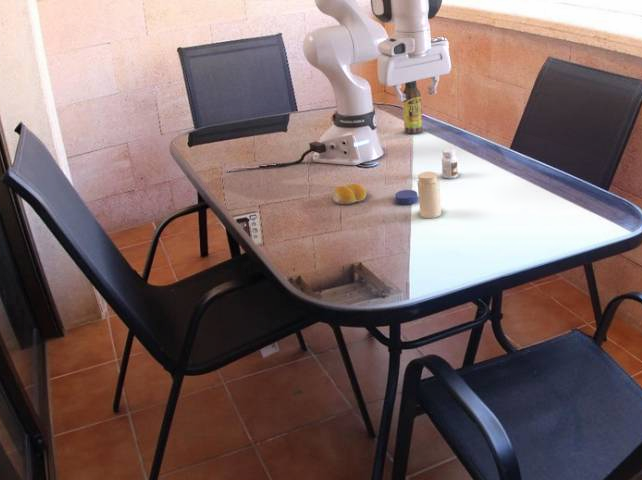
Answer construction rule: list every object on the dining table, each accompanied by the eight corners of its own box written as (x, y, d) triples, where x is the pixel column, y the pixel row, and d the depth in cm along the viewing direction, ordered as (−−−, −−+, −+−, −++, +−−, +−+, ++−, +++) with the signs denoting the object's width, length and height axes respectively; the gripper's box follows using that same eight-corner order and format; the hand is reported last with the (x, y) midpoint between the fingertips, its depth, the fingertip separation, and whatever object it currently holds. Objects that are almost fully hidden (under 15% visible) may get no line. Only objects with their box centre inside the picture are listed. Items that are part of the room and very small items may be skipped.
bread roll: (371, 199, 181) (369, 185, 179) (341, 207, 177) (339, 193, 175) (358, 190, 187) (356, 176, 185) (329, 198, 183) (327, 184, 181)
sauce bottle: (411, 135, 226) (405, 75, 216) (401, 131, 231) (395, 72, 220) (426, 131, 229) (422, 72, 219) (417, 127, 234) (412, 69, 223)
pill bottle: (456, 179, 191) (454, 153, 186) (441, 178, 191) (439, 152, 187) (459, 173, 194) (457, 147, 190) (444, 173, 195) (443, 147, 191)
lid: (420, 197, 181) (420, 190, 180) (413, 205, 176) (412, 199, 175) (400, 195, 182) (400, 189, 181) (392, 204, 178) (391, 197, 177)
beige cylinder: (418, 218, 169) (414, 178, 164) (422, 209, 174) (419, 170, 168) (439, 218, 168) (436, 179, 163) (442, 209, 173) (440, 171, 167)
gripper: (440, 33, 172) (443, 87, 180) (371, 45, 163) (377, 102, 170) (454, 36, 168) (456, 92, 175) (384, 49, 158) (390, 107, 166)
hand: (417, 97), depth 173 cm, fingers open, 8 cm apart
